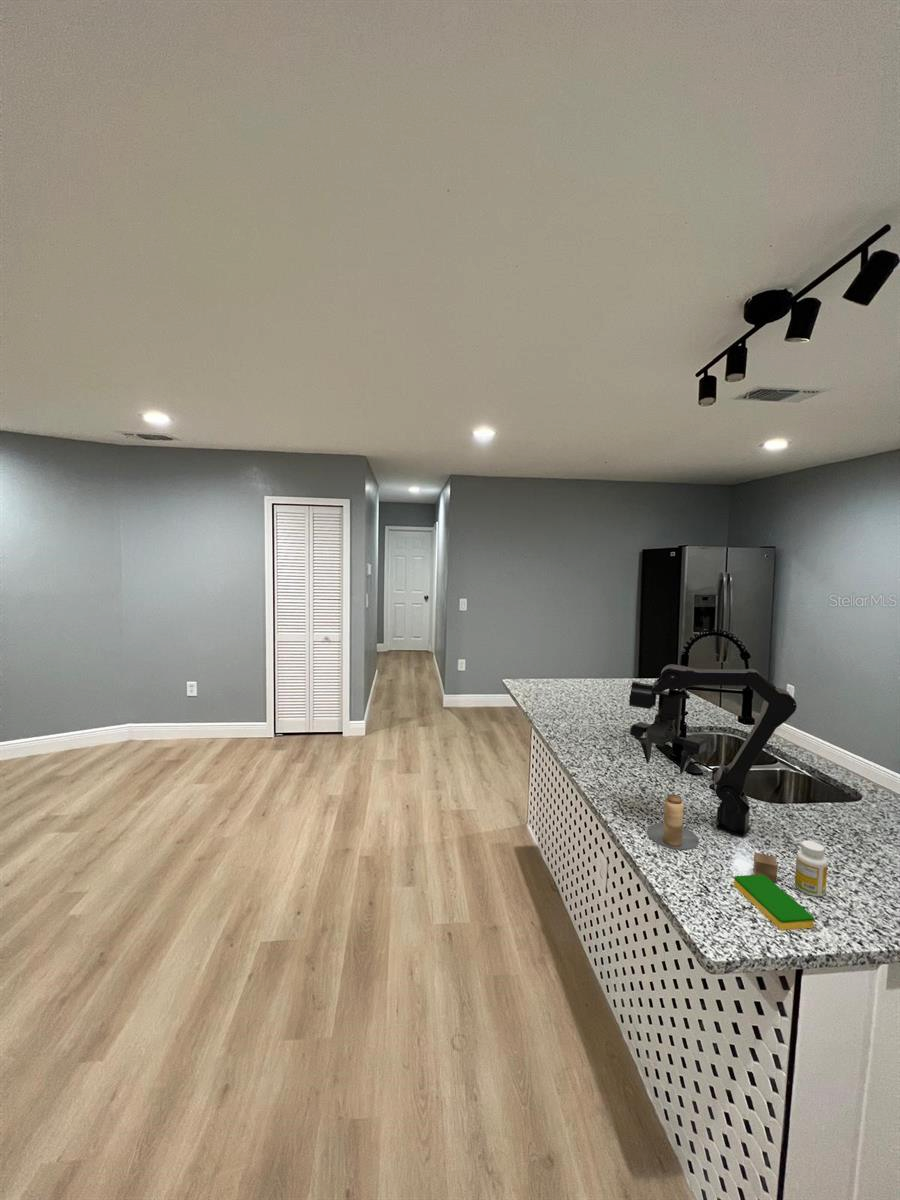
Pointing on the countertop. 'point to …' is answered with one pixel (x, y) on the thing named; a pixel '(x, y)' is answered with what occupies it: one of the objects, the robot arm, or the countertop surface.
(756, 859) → the walnut block
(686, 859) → the countertop surface
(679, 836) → the brown cylinder
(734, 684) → the robot arm
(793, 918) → the dish sponge
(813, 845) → the supplement bottle
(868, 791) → the countertop surface
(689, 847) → the slate coaster
